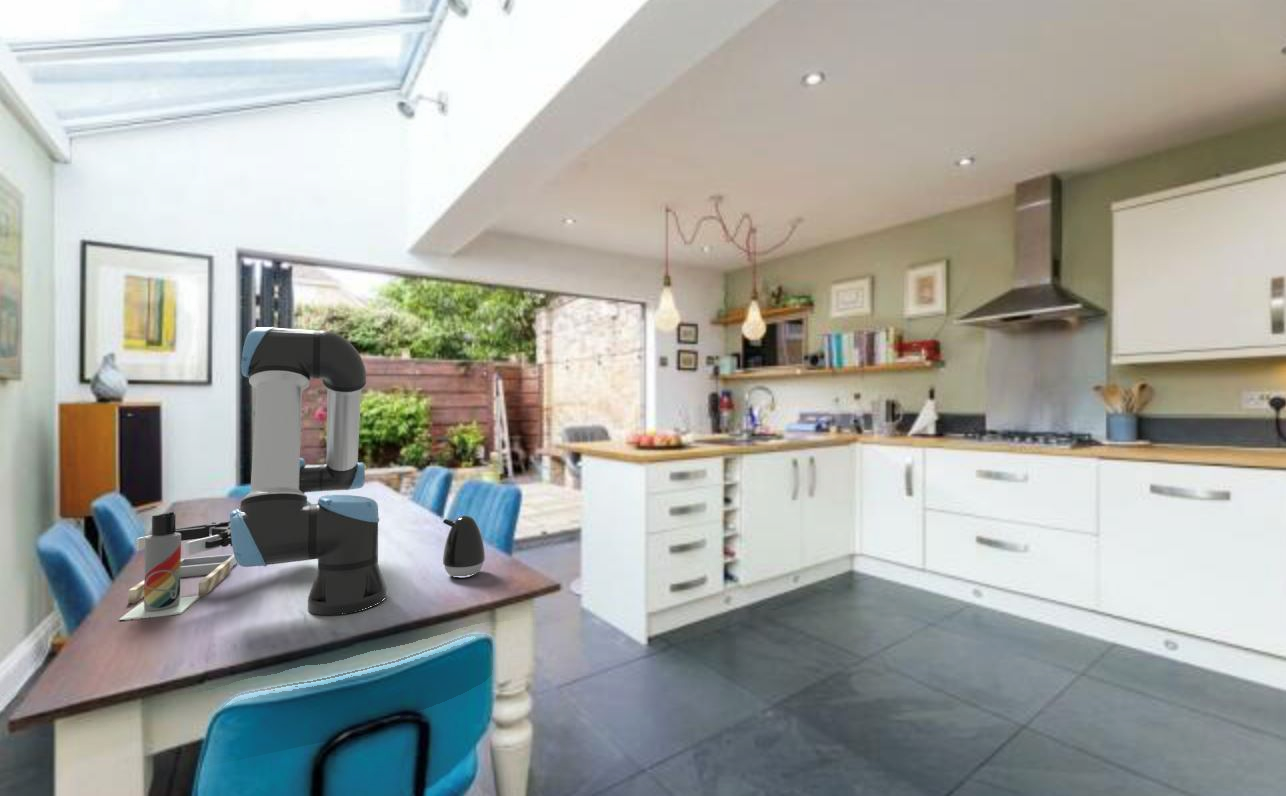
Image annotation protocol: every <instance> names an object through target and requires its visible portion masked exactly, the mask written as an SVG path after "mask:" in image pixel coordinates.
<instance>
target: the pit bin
mask: <svg viewBox="0 0 1286 796" xmlns="http://www.w3.org/2000/svg"><path fill="white" fill-rule="evenodd" d="M224 561H230V570H232V569H233V566H234V565H235V566H236V565H237V564H238V563H237V562H236V559H235V556H234V553H232V554H220V555H211V556H198V557H197V556H196V557H185V558H181V572H180V578H186V577H196V576H198V577H199V576H208V575H209V574H210V573H211V572H212V571H214V570H215V569H216V568H217V567H218V566H219V565H221V564H222V563H223V562H224ZM235 566H234V567H235Z"/></svg>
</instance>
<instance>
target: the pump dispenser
mask: <svg viewBox="0 0 1286 796" xmlns="http://www.w3.org/2000/svg"><path fill="white" fill-rule="evenodd" d="M442 522H443V524H445V525H447V526H449V527H450V530H449V532H448V535H447V538H446V541H445V543H444V544H445V545H444V549H443V555H442V556H443V557H442V564H443V566H444V569H445V571H446V573H447V574H448V575H449V576H450V575H451V576H450V577H452V576H467V575H472V574H475V573H477V572H478V573H479V572H480V571H481V569H482V567H483V566H484V563H485V559H486V552H485V545H484V540H483V537H482V533H481V530H480V528H479V526H478V523H477V521H476V520H475V519H474V518H473V517H472V516H469V515H462V516H459V517H457V518H456V519H455V520H450V519H447V518H444V519H443V521H442ZM478 573H477V574H478Z"/></svg>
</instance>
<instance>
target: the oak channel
mask: <svg viewBox="0 0 1286 796" xmlns="http://www.w3.org/2000/svg"><path fill="white" fill-rule="evenodd" d="M230 573H231V569H230V561H224V562H223V563H222V564H221V565H219V566H218V567H217V568H216V569H215V570H214V571H212V572H211V573H210V574H208V575H205V577H204V578H203V579H202V580H200V581H199V582H198V595H197V596H200V597H205V596H206V595H207V594H209V592H211V591H212V590H213V589H214V588H215V587H216V586H217V585H218V584H219V583H221V581H223V580H224V579H225V578H226V577H227V576H228V575H229V574H230ZM127 597H128V599H127V600H128V603H133V604H136V602H137V601H138V602H139V601H141V600H143V599H144V598H143V597H144V579H143V580H142V581H140V582H138V583H137V584H135V585H134V586H133V587H131V588H130V589H128V596H127ZM140 599H141V600H140ZM138 602H137V603H138Z"/></svg>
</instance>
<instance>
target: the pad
mask: <svg viewBox="0 0 1286 796" xmlns="http://www.w3.org/2000/svg"><path fill="white" fill-rule="evenodd" d="M200 597H201V596H198V595H193V596H186V597H180V602H179V604H178V605H177V606H175V607H172V608H169V609H165V610H160V611H146V610H145V609H144V601H142V602H140V603H139V604H138V605H136V606H135V607H134V608H132V609H131V610H129V611H128V612H126V613H125V614H124V615H122V616H121V617H120V618H118V621H119V620H125V621H132V620H131V619H133V620H139V619H140V620H141V618H142V619H149V617H150V618H157V617H158V618H159V617H165V616H173V615H181V614H183V613H184V612H186V611H187V610H188V609H189V607H191V606H193V605H194V603H196V601H197V600H199V599H200Z"/></svg>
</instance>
